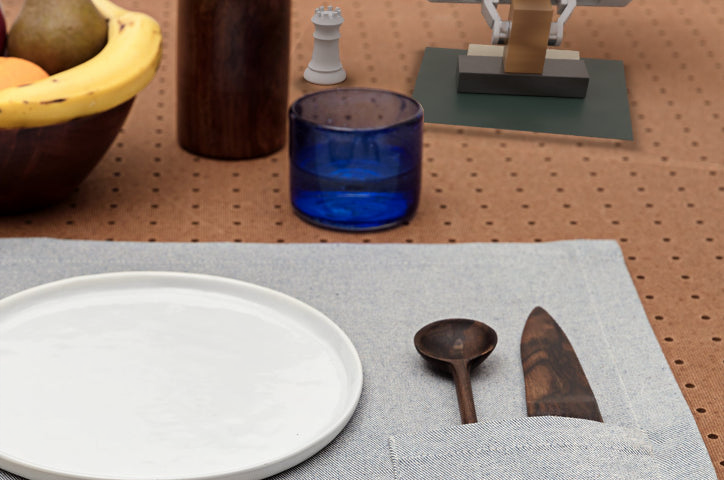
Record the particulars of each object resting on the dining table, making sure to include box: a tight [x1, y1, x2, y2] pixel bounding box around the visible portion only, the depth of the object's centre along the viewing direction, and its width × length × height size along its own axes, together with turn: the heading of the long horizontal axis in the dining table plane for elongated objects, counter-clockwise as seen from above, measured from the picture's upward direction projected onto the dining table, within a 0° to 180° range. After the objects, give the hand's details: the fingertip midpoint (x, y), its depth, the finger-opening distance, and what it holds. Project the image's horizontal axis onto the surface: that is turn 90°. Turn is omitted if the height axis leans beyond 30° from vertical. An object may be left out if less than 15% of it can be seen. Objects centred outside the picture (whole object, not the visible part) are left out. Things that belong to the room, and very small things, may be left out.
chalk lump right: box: [545, 48, 580, 60], centre depth 109 cm, size 4×4×1 cm
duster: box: [456, 0, 589, 98], centre depth 103 cm, size 12×5×8 cm, turn 80°
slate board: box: [411, 46, 634, 142], centre depth 105 cm, size 20×20×1 cm
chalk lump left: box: [467, 43, 504, 57], centre depth 110 cm, size 4×4×1 cm
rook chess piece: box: [302, 5, 347, 86], centre depth 106 cm, size 4×4×8 cm
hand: (526, 43), depth 102 cm, fingers closed on duster, 3 cm apart
